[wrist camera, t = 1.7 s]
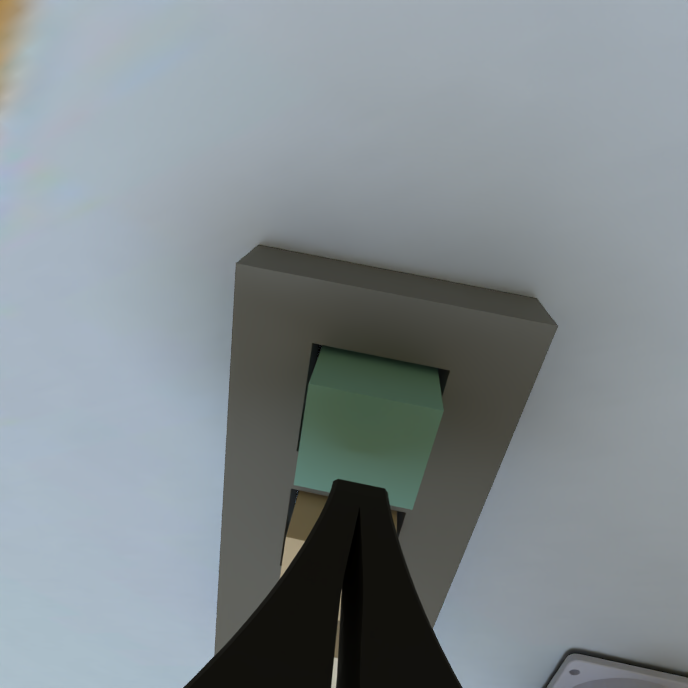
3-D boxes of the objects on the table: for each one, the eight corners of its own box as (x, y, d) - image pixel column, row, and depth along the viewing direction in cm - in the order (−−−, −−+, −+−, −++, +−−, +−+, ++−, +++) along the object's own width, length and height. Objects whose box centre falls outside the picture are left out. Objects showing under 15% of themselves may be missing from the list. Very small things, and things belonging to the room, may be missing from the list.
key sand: (377, 570, 20) (374, 628, 18) (290, 551, 20) (275, 606, 18) (397, 505, 18) (396, 560, 16) (300, 485, 18) (285, 536, 16)
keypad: (400, 657, 26) (400, 706, 23) (229, 619, 26) (214, 664, 24) (536, 298, 16) (557, 325, 14) (258, 245, 16) (236, 263, 14)
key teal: (411, 457, 17) (412, 509, 15) (308, 436, 17) (293, 485, 15) (437, 367, 15) (443, 410, 13) (322, 344, 16) (308, 383, 13)
